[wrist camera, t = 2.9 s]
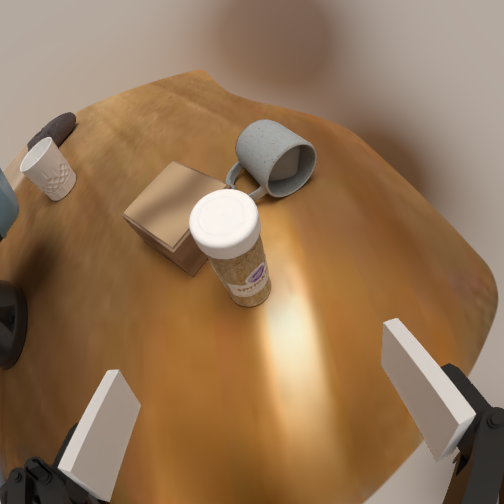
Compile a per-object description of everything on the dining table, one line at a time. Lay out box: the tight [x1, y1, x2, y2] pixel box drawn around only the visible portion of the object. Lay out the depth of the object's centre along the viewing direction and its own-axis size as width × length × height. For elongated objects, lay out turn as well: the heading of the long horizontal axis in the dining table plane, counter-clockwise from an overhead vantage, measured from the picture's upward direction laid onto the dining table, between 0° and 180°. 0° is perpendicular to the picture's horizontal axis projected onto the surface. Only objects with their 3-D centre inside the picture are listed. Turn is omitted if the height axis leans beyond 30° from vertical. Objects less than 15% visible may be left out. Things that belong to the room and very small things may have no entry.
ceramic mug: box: [226, 119, 317, 201], centre depth 32 cm, size 11×8×8 cm
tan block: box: [122, 161, 232, 277], centre depth 31 cm, size 9×9×6 cm
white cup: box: [20, 137, 76, 201], centre depth 38 cm, size 8×8×10 cm
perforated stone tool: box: [28, 112, 76, 152], centre depth 48 cm, size 15×5×7 cm, turn 148°
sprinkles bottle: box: [189, 189, 271, 307], centre depth 23 cm, size 5×5×14 cm
